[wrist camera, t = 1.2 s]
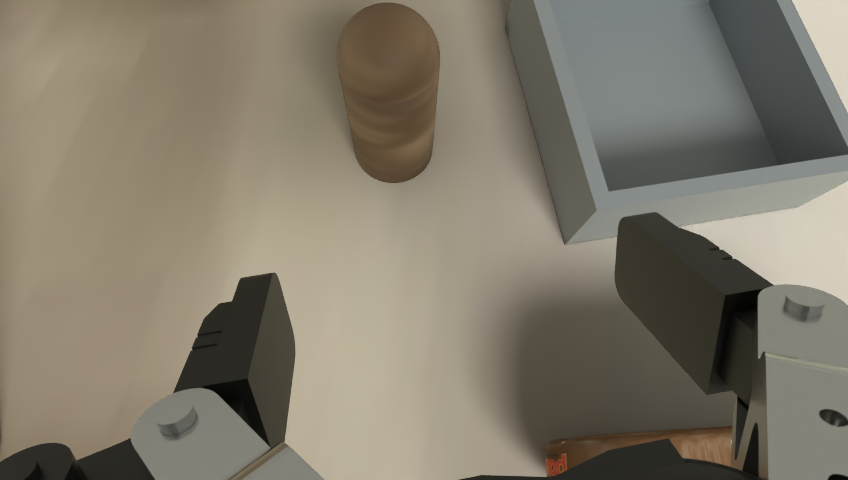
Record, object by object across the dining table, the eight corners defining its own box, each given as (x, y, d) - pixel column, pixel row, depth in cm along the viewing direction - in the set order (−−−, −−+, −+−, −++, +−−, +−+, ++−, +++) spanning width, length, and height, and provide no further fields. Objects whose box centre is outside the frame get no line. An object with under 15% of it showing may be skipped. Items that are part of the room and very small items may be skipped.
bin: (564, 245, 28) (596, 210, 23) (505, 26, 33) (521, -40, 28) (798, 207, 29) (874, 166, 24) (709, 0, 34) (758, -68, 29)
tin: (528, 500, 24) (588, 542, 16) (521, 428, 25) (574, 434, 17) (842, 483, 25) (1049, 516, 17) (823, 413, 26) (1010, 413, 18)
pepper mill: (360, 188, 29) (337, 77, 19) (350, 119, 30) (323, -16, 21) (438, 176, 29) (453, 61, 20) (425, 109, 30) (432, -29, 21)
